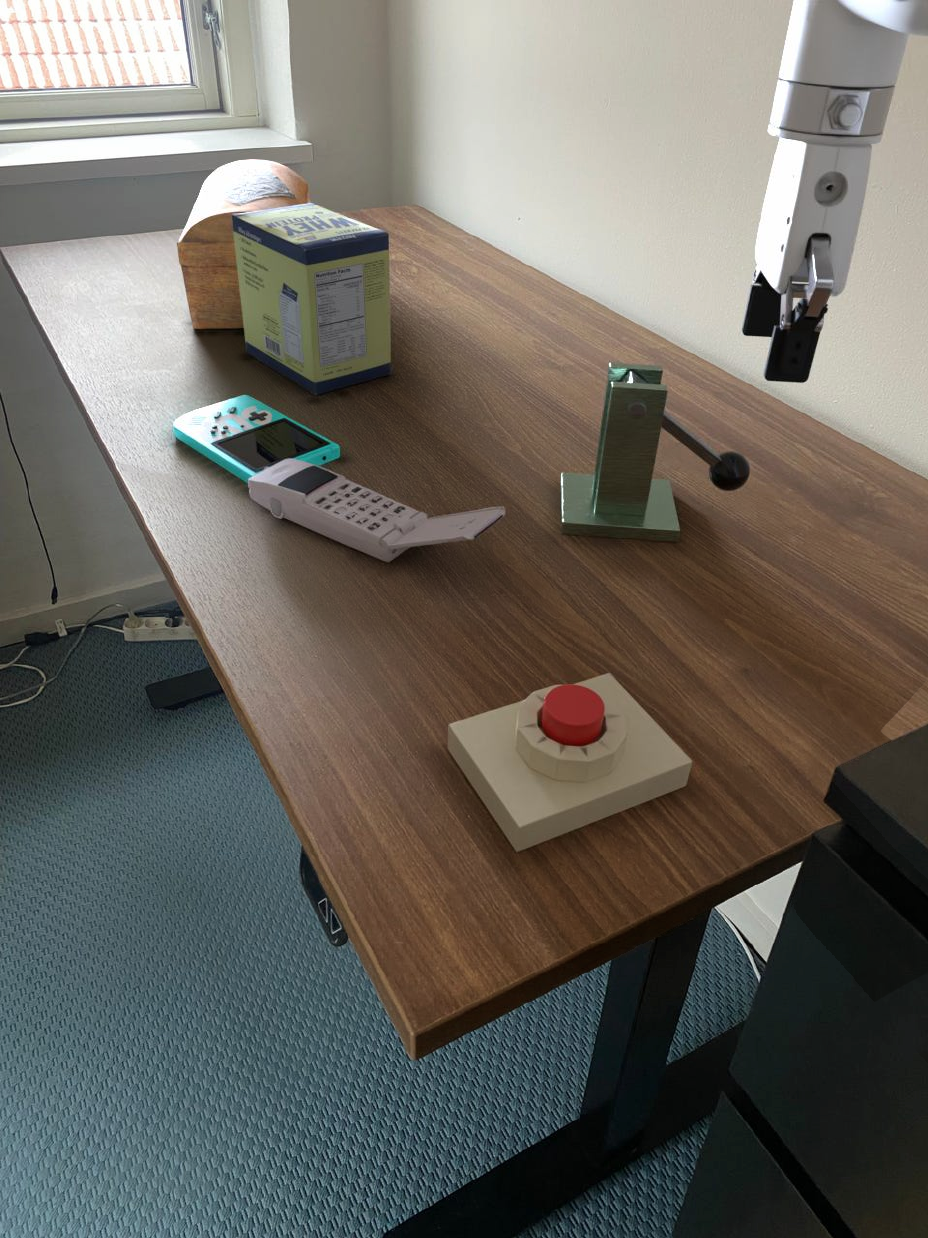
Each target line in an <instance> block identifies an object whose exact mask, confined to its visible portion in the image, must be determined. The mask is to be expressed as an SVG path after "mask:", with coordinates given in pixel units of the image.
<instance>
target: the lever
mask: <svg viewBox="0 0 928 1238" xmlns="http://www.w3.org/2000/svg"><path fill="white" fill-rule="evenodd" d="M621 382H627V383H642V384H647V383H646V382H645V381H644V380H642V379H641V378H640V377H639V376H637V375H636V374H635V373H634V372H633V371H630V372H629V374H628V375H627V376H626V377H625V378H624V379H623V380H622V381H621ZM661 429H663V430H664V431H665V432H667V433H668V434H669V435H670V436H672V437H673V438H675V440H677V441H678V442H679V443H680V444H682V445H683V446H685V448H687V449H688V450H689V451H691V452H692V453H694V454H695V455H696V456H697V457H699V458H700V459H701V460H702V461H703V462H705V463H706V464H707V465H709V468H708V476H709V479H710V482H711V483H712V485H713V486H714V487H715V488H717V489H718V490H721V491H724V492H733V491H737V490H739V489H741V488H742V487H743V486H745V484H747V482H748V481H749V477H750V474H751V467H750V464H749V461H748V460H747V458H746V457H745V455H743V454H742V453H739V452H737V451H731V450H729V451H724V452H721V453H720V452H718V451H716V450H715V449H714V448H712V447H711V446H710V444H707V443H706V442H705V441H704V440H702V438H701V437H699V436H698V435H697V434H695V433H694V432H693V431H691V430H690V429H689V428H688V427H686V426H685V425H684V424H683V423H681V422H680V421H678V420H677V419H676V418H675V417H674V416H673V415H671V414H670V413H669V412H667V411H666V409H665V410H664V415H663V421H662V426H661Z"/></svg>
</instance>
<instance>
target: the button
mask: <svg viewBox="0 0 928 1238" xmlns="http://www.w3.org/2000/svg"><path fill="white" fill-rule="evenodd" d="M560 685H561V686H558V687H555V688H553V689H552V690H550V691H549V692H548V693H547V695H546V696H545V698H544V704H543V712H542V721H541V724H542V728H543V730H544V732H545V734H546V735H547V736H548V737H549V738H550V739H552V740H553V741H555V742H558V743H560V744H562V745H566V746H584V745H588V744H590V743H592V742H593V741H595V740H596V739H597V738H598V737H599V735H600V733H601V728H602V723H603V717H604V711H605V706H604V703H603V700H602V699H601V697H600V696H599V695H598V694H597V693H595V692H594V691H593V690H591V689H589V688H586V687H583V686H580V685H573V684H560Z"/></svg>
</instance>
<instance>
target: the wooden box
mask: <svg viewBox="0 0 928 1238" xmlns="http://www.w3.org/2000/svg"><path fill="white" fill-rule="evenodd" d="M195 201H196V202H195V203H194V205H193V208H192V210H191V213H190V215H189V217H188V219H187V220H188V221H187V222H186V225H185V226H184V229H183V230H182V233H181V235H180V237H179V240H178V242H176V248H177V255H178V263H179V265H180V267H181V268H180V269H181V273H182V279H183V282H184V283H183V284H184V288H185V289H184V290H185V294H186V300H187V306H188V312H189V316H190V320H191V325H192V328H193V329H194V330H205V329H206V330H207V329H208V330H209V329H210V330H211V329H216V330H219V329H220V330H222V329H244V325H243V316H242V306H241V297H240V288H239V279H238V270H237V261H236V252H235V242H234V233H233V223H232V216H231V215H232V214H239V213H246V212H253V211H260V210H267V209H274V208H281V207H288V206H294V205H301V204H308V203H311V200H310V189H309V184H308V183H307V181H306V180H305V179H304V178H303V177H302V176H301V175H300V174H298V173H297V172H295V171H294V170H292V169H291V168H290V167H288V166H286V165H284V164H281V163H279V162H276V161H271V160H265V159H242V160H236V161H233V162H230V163H226V164H224V165H222V166H220V167H218V168H217V169H215V170H214V171H213V172H212V173H211V174H210V175H208V177H207V178H206V179H205V180H204V182H203V184H202V186H201V189H200V192H199V195H198V197H197V199H196V200H195Z"/></svg>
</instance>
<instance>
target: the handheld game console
mask: <svg viewBox="0 0 928 1238" xmlns="http://www.w3.org/2000/svg"><path fill="white" fill-rule="evenodd" d="M174 420H175V421H174V422H173V424H172V427H173V433H174V437H175V438H176V439H178V440H179V441H181V442H183V444H185V445H188V446H189V447H191V449H193V450H195V451H196V452H198V453H199V454H201V455H203V456H205V457H206V458H207V459H209V460H210V461H212V462H214V463H215V464H217V465H218V466H220V467H222V468H223V469H225V470H226V471H228V472H230V473H231V474H232V475H234V476H236V477H237V478H239V479H240V480H242V481H243V482H245V483H247V484H248V479H249V478H250V477H252V476H254V475H256V474H258V473H260V472H262V471H263V469H264V468H265V467H271V466H273V465H275V464H277V463H279V462H281V461H283V460H285V459H289V458H292V459H296V460H300V461H304V462H307V463H311V464H314V465H317V466H322V465H324V464H327V463H329V462H331V461H334V460H337V459H339V458H340V457H341V446H340V445H339V444H338V443H336V442H334V441H332V440H330V439H328V438H326V437H325V436H323V435H321V434H319V433H318V432H316V431H315V430H312V429H310V428H308V427H307V426H305V425H303V424H301V423H300V422H298V421H296V420H294V419H292V418H290V417H288V416H287V415H285V414H283V413H281V412H280V411H277V410H276V409H274V408H272V407H270V406H268V405H267V404H265V403H264V402H261V401H259V400H257V399H256V398H254V397H252V396H250V395H248V394H242V395H239V396H235V397H232V398H228V399H226V400H223V401H219V402H217V403H214V404H210V405H207V406H204V407H200V408H198V409H195V410H192V411H190V412H187V413H185V414H183V415H180V417H178V418H177V419H174Z"/></svg>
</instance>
